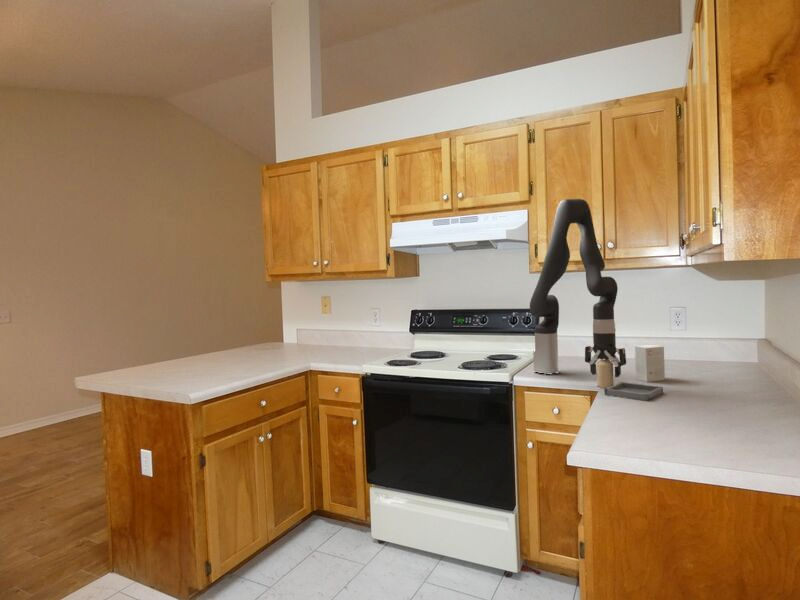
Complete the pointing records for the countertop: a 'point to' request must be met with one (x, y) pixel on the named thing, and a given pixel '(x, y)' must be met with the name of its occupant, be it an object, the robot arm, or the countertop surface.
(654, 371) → the small box
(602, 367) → the candle
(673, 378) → the countertop surface
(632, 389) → the rest tray
